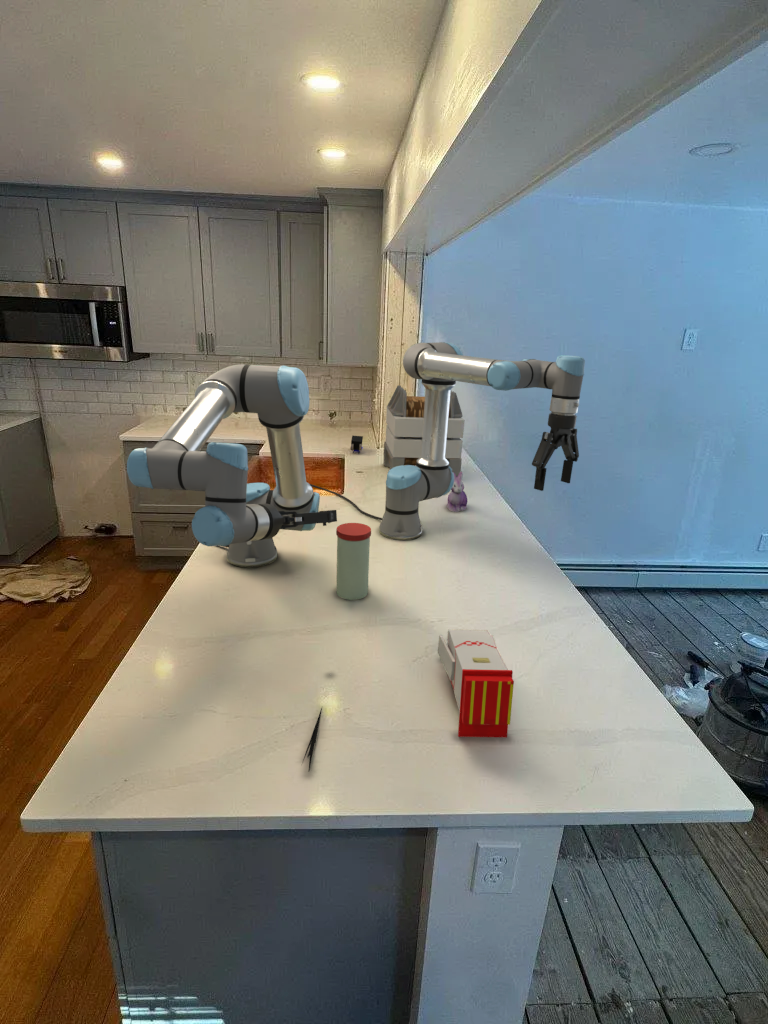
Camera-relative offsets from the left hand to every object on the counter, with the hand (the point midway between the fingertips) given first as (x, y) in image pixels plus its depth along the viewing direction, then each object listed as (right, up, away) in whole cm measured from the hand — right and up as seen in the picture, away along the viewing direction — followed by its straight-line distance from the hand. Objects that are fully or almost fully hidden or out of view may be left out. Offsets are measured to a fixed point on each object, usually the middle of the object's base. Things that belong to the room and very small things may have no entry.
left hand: (310, 516), depth 137 cm
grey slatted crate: (+35, +20, +138) cm, 144 cm away
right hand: (+67, +9, +29) cm, 73 cm away
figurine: (+47, +2, +91) cm, 103 cm away
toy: (+36, -37, -18) cm, 54 cm away
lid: (+10, -4, +15) cm, 18 cm away
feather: (+5, -39, -28) cm, 48 cm away
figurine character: (+3, +34, +174) cm, 177 cm away
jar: (+9, -21, +21) cm, 31 cm away
